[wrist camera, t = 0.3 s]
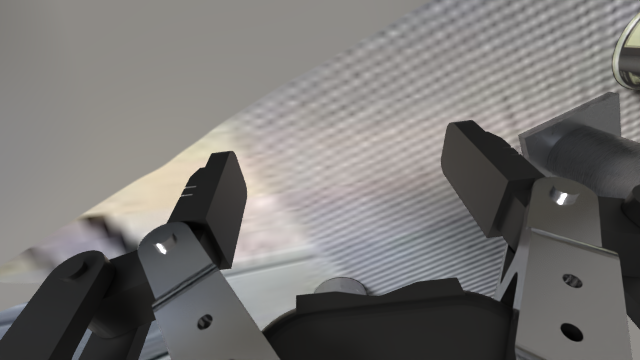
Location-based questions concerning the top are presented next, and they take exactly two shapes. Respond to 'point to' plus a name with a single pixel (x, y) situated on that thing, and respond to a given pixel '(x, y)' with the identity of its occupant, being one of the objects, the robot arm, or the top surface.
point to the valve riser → (586, 148)
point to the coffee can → (628, 56)
